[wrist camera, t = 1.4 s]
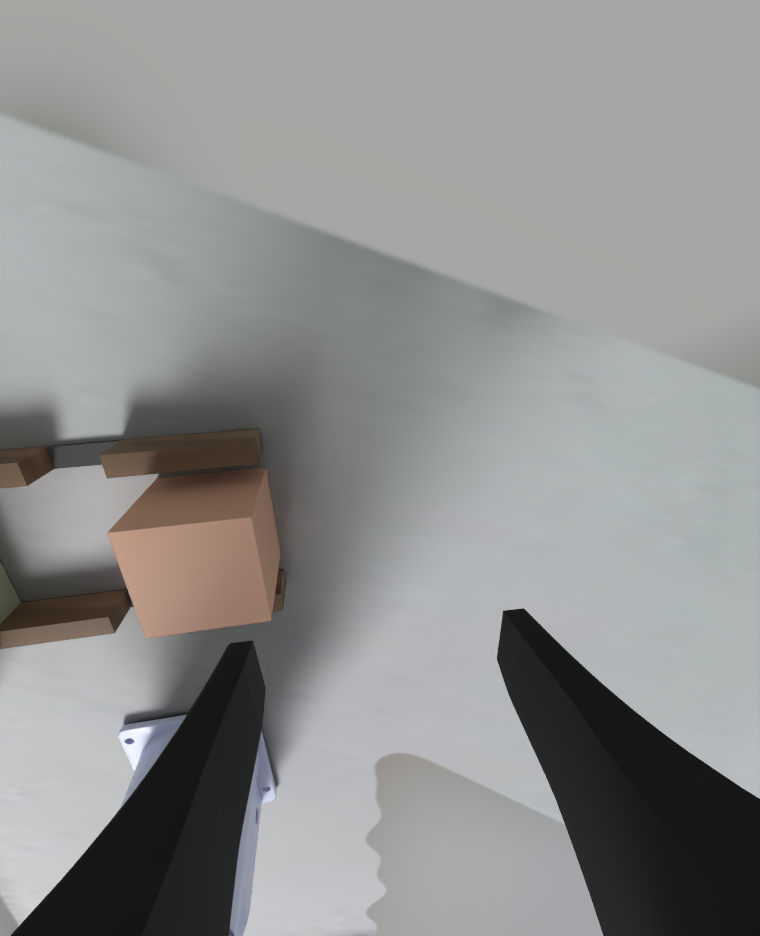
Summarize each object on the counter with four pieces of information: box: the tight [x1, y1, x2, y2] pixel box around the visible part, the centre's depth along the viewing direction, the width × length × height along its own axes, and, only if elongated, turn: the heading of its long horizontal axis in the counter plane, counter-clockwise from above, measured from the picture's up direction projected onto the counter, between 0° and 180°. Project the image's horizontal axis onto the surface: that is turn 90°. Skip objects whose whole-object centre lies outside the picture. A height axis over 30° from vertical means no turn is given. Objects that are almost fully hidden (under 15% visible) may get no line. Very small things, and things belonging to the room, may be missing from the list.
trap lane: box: [0, 428, 286, 649], centre depth 18 cm, size 9×14×3 cm, turn 92°
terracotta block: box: [107, 468, 281, 639], centre depth 18 cm, size 5×5×5 cm
